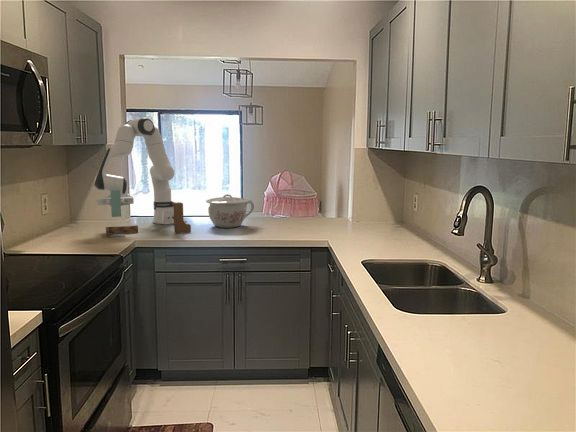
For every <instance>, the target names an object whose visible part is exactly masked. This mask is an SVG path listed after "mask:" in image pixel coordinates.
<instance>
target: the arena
mask: <svg viewBox="0 0 576 432" xmlns="http://www.w3.org/2000/svg"><path fill="white" fill-rule="evenodd" d="M138 232H139V225H121V226H120V225H119V226H117V225H116V226H105V234H106V239H109V238H111V237H110V234H120V233H124V234H131V233H132V234H134V233H138Z"/></svg>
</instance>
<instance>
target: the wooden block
mask: <svg viewBox="0 0 576 432" xmlns="http://www.w3.org/2000/svg"><path fill="white" fill-rule="evenodd" d="M183 218H184V203H183V202H182V201H181V202H180V201H179V202H175V203H174V224H173V227H174V233H176V234H183V233H184V234H185V233H191V232H192V227H191V226H192V225H191V224H190V223H187V222H185V223H184V220H183Z"/></svg>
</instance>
